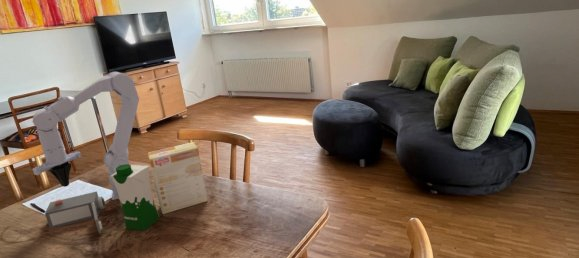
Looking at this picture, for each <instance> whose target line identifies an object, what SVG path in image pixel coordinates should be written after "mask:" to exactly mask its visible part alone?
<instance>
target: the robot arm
mask: <svg viewBox="0 0 579 258" xmlns="http://www.w3.org/2000/svg"><path fill="white" fill-rule="evenodd" d="M102 92H103V93H106V92H110V93H111V92H112V93H113V92H115V93H116V95H118V97H119V98H120V100H121V101H122V102H121V106H120V110H119V114H118V119H117V122H116V125H115V131H114V135H113V139H112V143H111V144H110V146H109V148H108V150H107V152H106V154H105V155H104V156H103V164H104V165H105V166H106V167H108V170H107V176H108V179H109V184H110V187H111V192H112V193H111V194H112V195H111V200H112V201H116V200H120V199H119V196H118V192H117V188H116V186H115V184H114V182H113V181H112V179H111V177H110V175H112V174H114V173H115V172H116V168H117V167H118V166H121V165H125V164H129V165H130V161H129V155H130V154H129V148H128V146H129V143H130V139H131V135H132V132H133V131H132V130H133V127H134V123H135V118H136V114H137V110H138V107H139V103H140V97H139V94H138V91H137V87H136V82H135V80H134V79H132V77H130V75H129V74H127V73H122V72H119V71H111V72H109V73H108V74H107V75H106V74H105V75H103V76H102V77H100V78H98V79H96V80H95V81H94V82H92V83H91V84H89V85H87V86H86V87H85V88H83V89H82V90H80V91H79V92H77V93H76V94H74V95H73V96H70V95H65V96H64V97H63V96H61V95H60V97H58V98H57V101H55V102H53V103H52V104H50V105H48V106H47V105H46V106H44V107H43V110H42V109H41V110H38V111H36V112H35V113H34V115H33V116H32V121H31V122H32V123H33V125H34V126H35V127H36V130H37V131H36V132H37V134H38V139H39V142H40V145H41V149H42V151H43V154H44V158H45V160H46V161H45V162H44V163H41V164H39V165H38V166H35V167H34V168H32V172H33V174H34V175H35V176H40V175H41V174H42V173H45V172H47V171H48V172H49V173H51V175H53V176H54V178H56V179H57V181H58V183H59V184H60V186H61V187H68V186H70V172H71V168H72V164H71V163H69V162H71V161H73V160H74V161H75V160H77V159H80V158H82V154H81V152H80V151H74V152H71V153H68V154H67V153H66V149H65V146H64V143H63V142H64V141H63V139H62V136H61V131H59V130H58V129H59V128H58V127H57V126H58V123H60V122H62V121H64V120H65V119H68V118H69V117H70V116H71V115H73V114H75V113H76V112H78V111H79V108H80V105H82V104H83V103H86V102H87V101H89V100H90V99H92V98H94V97H95V96H97V95H99V94H102Z"/></svg>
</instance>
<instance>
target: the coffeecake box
mask: <svg viewBox="0 0 579 258" xmlns="http://www.w3.org/2000/svg"><path fill="white" fill-rule="evenodd" d="M147 157H148V160H149V165H150V166H149V167H150V169H151V172H152V178H153V182H154V186H155V191H156V195H157V199H158V203H159V206H160V207H159V208H160V211H161V215H165V214H168V213H172V212H175V211H178V210H183V209H185V208H189V207H192V206H195V205H199V204H202V203H206V202H208V201H209V200H208V195H207V190H206V184H205V179H204V175H203V167H202V164H201V163H202V162H201V160H200V159H201V158H200V153H199V148H198V146H197V145H196V144H195V142H194V141H192V142H186V143H183V144H179V145H174V146H170V147H166V148H162V149H158V150H153V151H149V152H147Z"/></svg>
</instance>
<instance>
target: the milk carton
mask: <svg viewBox="0 0 579 258" xmlns="http://www.w3.org/2000/svg"><path fill="white" fill-rule="evenodd" d="M110 177H111V179H112V181H113V182H114V184H115V186H116V188H117V192H118V196H119V199H118V200H119V202H120V207H121V210H122V215H123V220H124V224H125V229H126V230H132V231H133V230H134V231H135V230H136V231H141V232H146V230H148V229H149V228H150V227H151V226H153V224H154V223H156V222H157V221H158V220H160V215H159V213H158V210H157V207H156V203H155V200H154V195H153V190H152V187H151V182H150V166H149V165H138V164H130V163H129V164H125V165H121V166H118V167H117V168H116V172H115V173H114V174H112V175H110Z"/></svg>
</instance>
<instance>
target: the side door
mask: <svg viewBox="0 0 579 258" xmlns="http://www.w3.org/2000/svg"><path fill="white" fill-rule="evenodd" d="M91 205H92V209H93V213H94V218H93V219H94V221H95V225H96V228H97V231H98V234H101V233H102V229H103V226H102V222H101V220H100V218H99V217H98V213H97V210H96V206H95V203H94V202H93V203H91Z"/></svg>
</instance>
